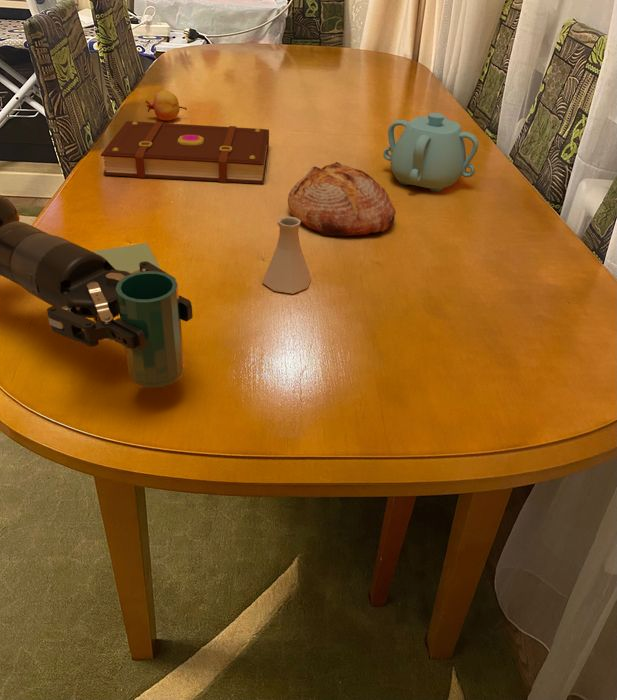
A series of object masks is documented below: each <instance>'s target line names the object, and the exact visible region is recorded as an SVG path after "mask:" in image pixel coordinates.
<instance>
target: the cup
mask: <svg viewBox="0 0 617 700" xmlns="http://www.w3.org/2000/svg"><path fill="white" fill-rule="evenodd" d="M166 273H167V272H166ZM166 273H162V272H157V271H143V272H137V273H133V274H130V275H128V276H125V277H124V278H123V279H121V280H120V281H119V282H118V283H117V286H116V295H117V302H118V308H119V315H118V316H119V318H120V319H122V320H124V321H125V322H127V323H129V324H131V325H133V326H135V327H137V328H139V329H141V330H142V331H143V332H144V334H145V340H146V347H145V348H144V349H142V350H141V351H138V350H136V349H135V348H134V349H129V348H127V347H125V346H123V347H124V353H125V358H126V365H127V371H128V376H129V378H130V380H131V381H132V382H133V383H135V384H136V385H137V386H140V387H144V388H154V389H155V388H163V387H167V386H169V385H172V384H174V383H176V382H177V381H179V380H180V378H182V376H183V374H184V373H185V372H184V371H185V356H184V355H185V354H184V345H183V343H184V342H183V333H182V331H183V330H182V319H181V318H180V306H179V295H180V294H179V284H178V282H177V280H175V279H176V277H174V276H173V275H171V274H169V273H168V274H169V275H168V274H166ZM170 275H171V276H170ZM172 276H173V277H174V278H173V277H172Z"/></svg>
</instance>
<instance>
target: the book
mask: <svg viewBox="0 0 617 700" xmlns="http://www.w3.org/2000/svg"><path fill="white" fill-rule="evenodd" d="M269 147H270V129H268V128H256V127H255V128H254V127H239V126H238V127H237V126H236V125H229V126H219V125H204V124H203V125H201V124H185V123H184V124H183V123H171V122H170V123H169V122H168V123H167V122H163V121H155V122H151V121H148V122H147V121H134V120H126V121H125V123H123V125H122V126H121V128H120V129H119V130H118V132H117V133H116V134H115V135H114V137H112V139H111V141H110V142H109V143H108V145H106V147H105V148H104V149H103V151H102V152H101V154H100V156H101V157H103V158H102V159H103V160H104V161H103V163H104V164H103V166H104V172H103V175H104V176H118V177H136V178H137V179H146V178H150V179H151V178H154V179H169V180H170V179H172V180H190V181H191V180H192V181H207V182H208V181H209V182H219V183H221V184H222V183H223V184H227V183H242V184H243V183H246V184H259V185H260V184H264V182H265V175H266V168H267V161H268V155H269V154H268V153H269Z"/></svg>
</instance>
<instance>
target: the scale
mask: <svg viewBox="0 0 617 700" xmlns="http://www.w3.org/2000/svg"><path fill="white" fill-rule="evenodd" d="M91 251H92V252H94V253H96V254H98V255H100V256H102V257H104V258H105V259H106V260H107V261H108V262H109V263H110V264H111V265H112V266H113V267H114V268H115V269H116V270H120V271H127V272H129V273H132V272H134V271H137V270H139V269H140V267H139V263H140V262H143V261H147V262H149V263H151V264H153V265H154V266H156V267H158V268H159V269H161V270H162V268H161V266H160V265H159V263H158V261H157V259H156V257H155V255H154V253H153V252H152V250H151V248H150V245H149V244H148V242H143V243H136V244H131V245H124V246H117V247H111V248H103V249H98V250H91Z"/></svg>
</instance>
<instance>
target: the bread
mask: <svg viewBox="0 0 617 700" xmlns="http://www.w3.org/2000/svg"><path fill="white" fill-rule="evenodd" d="M387 192H388V191H386V189H385V188H383V187H382V186H381V185H380V184H379V183H378V182H377V181H376V180H375V179H374V178H373V177H371V176H370V175H369V174H368V173H366V172H365V171H363V170H361V169H358V168H353V167H351V166H348V165H345V164H341V163H340V162H338V161H335V162H333V163H330V164H327V165H324V166H323V167H321V168H320V167H318V166H312V167H311V168H310V170H309V171H308V172H307V173H306V174H305V176H304V177H303V178H301V179H300V180H298V181H297V182H296V184H295V185H294V186H293V187H292V188H291V189H290V191H289V193H288V194H287V195H288V196H287V207H288V211H289V213H290V214H291V215H292V217H295V218H297V219H299V220H301V224H303V225H305V226H306V227H307V228H309V229H311V230H313V231H316V232H318V233H319V234H322V235H323V236H325V237H333V236H335V237H351V236H362V235H369V234H372V233H380V232H381V233H383V232H385V231H386V230H387V229H389V228H391V226H392V225H394V222H395V215H396V209H395V207H394V205H393V203H392V201H391V199H390V196H389V194H388V193H387Z"/></svg>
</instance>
